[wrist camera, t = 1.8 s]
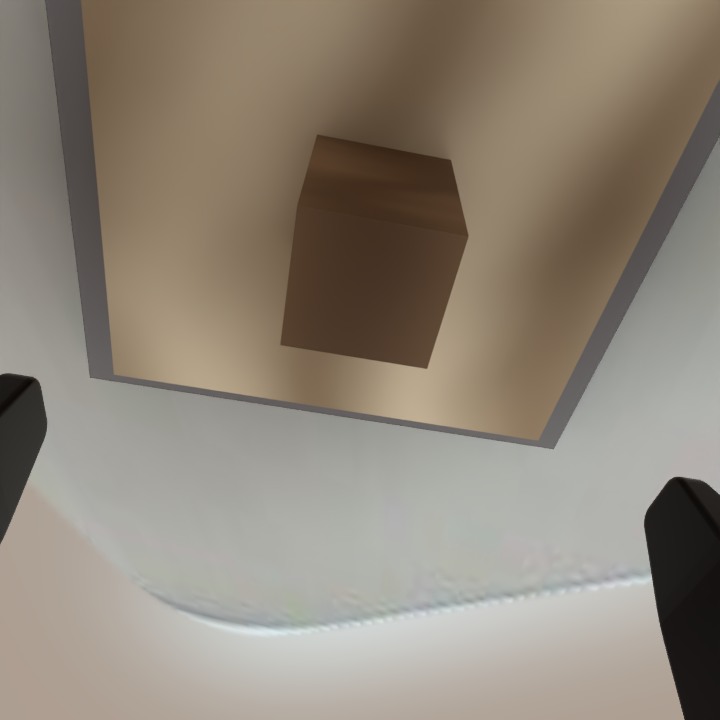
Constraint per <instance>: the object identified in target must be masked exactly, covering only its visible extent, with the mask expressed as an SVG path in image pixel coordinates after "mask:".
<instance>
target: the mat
mask: <svg viewBox="0 0 720 720" xmlns="http://www.w3.org/2000/svg"><path fill="white" fill-rule="evenodd" d="M45 2H46V11H47V19H48V28H49V36H50V44H51V53H52V61H53V70H54V78H55V87H56V95H57V103H58V112H59V120H60V129H61V137H62V145H63V154H64V162H65V171H66V179H67V188H68V196H69V204H70V213H71V221H72V230H73V238H74V246H75V255H76V263H77V272H78V280H79V288H80V297H81V305H82V314H83V322H84V331H85V339H86V347H87V356H88V364H89V373H90V378H96V379H102V380H109V381H115V382H122V383H128V384H135V385H141V386H148V387H154V388H161V389H167V390H174V391H180V392H187V393H193V394H200V395H206V396H212V397H219V398H225V399H232V400H238V401H245V402H251V403H258V404H264V405H271V406H277V407H284V408H290V409H297V410H303V411H310V412H316V413H322V414H329V415H335V416H342V417H348V418H355V419H361V420H368V421H374V422H381V423H387V424H394V425H400V426H407V427H413V428H420V429H426V430H433V431H439V432H445V433H452V434H458V435H465V436H471V437H478V438H484V439H491V440H497V441H504V442H510V443H517V444H523V445H530V446H536V447H543V448H549V449H554V448H555V446H556V444H557V442H558V440H559V438H560V436H561V434H562V433H563V431H564V429H565V427H566V425H567V423H568V421H569V419H570V417H571V416H572V414H573V412H574V410H575V408H576V406H577V404H578V402H579V400H580V399H581V397H582V395H583V393H584V391H585V389H586V387H587V385H588V383H589V382H590V380H591V378H592V376H593V374H594V372H595V370H596V368H597V366H598V365H599V363H600V361H601V359H602V357H603V355H604V353H605V351H606V349H607V348H608V346H609V344H610V342H611V340H612V338H613V336H614V334H615V332H616V331H617V329H618V327H619V325H620V323H621V321H622V319H623V317H624V315H625V314H626V312H627V310H628V308H629V306H630V304H631V302H632V300H633V298H634V297H635V295H636V293H637V291H638V289H639V287H640V285H641V283H642V281H643V280H644V278H645V276H646V274H647V272H648V270H649V268H650V266H651V264H652V263H653V261H654V259H655V257H656V255H657V253H658V251H659V249H660V247H661V246H662V244H663V242H664V240H665V238H666V236H667V234H668V232H669V230H670V229H671V227H672V225H673V223H674V221H675V219H676V217H677V215H678V213H679V212H680V210H681V208H682V206H683V204H684V202H685V200H686V198H687V196H688V195H689V193H690V191H691V189H692V187H693V185H694V183H695V181H696V179H697V178H698V176H699V174H700V172H701V170H702V168H703V166H704V164H705V162H706V161H707V159H708V157H709V155H710V153H711V151H712V149H713V147H714V145H715V144H716V142H717V140H718V138H719V136H720V79H719V81H718V83H717V85H716V87H715V89H714V91H713V93H712V95H711V97H710V99H709V101H708V103H707V105H706V107H705V109H704V111H703V113H702V115H701V117H700V119H699V121H698V123H697V125H696V127H695V129H694V131H693V133H692V135H691V137H690V139H689V141H688V143H687V145H686V147H685V149H684V151H683V153H682V155H681V157H680V159H679V161H678V163H677V165H676V167H675V169H674V171H673V173H672V175H671V177H670V179H669V181H668V183H667V185H666V187H665V189H664V191H663V193H662V195H661V197H660V199H659V201H658V203H657V205H656V207H655V209H654V211H653V213H652V215H651V217H650V219H649V221H648V223H647V225H646V227H645V229H644V231H643V233H642V235H641V237H640V239H639V241H638V243H637V245H636V247H635V249H634V251H633V253H632V255H631V257H630V259H629V261H628V263H627V265H626V267H625V269H624V271H623V273H622V275H621V277H620V279H619V281H618V283H617V285H616V287H615V289H614V291H613V293H612V295H611V297H610V299H609V301H608V303H607V305H606V307H605V309H604V311H603V313H602V315H601V317H600V319H599V321H598V323H597V325H596V327H595V329H594V331H593V332H592V334H591V336H590V338H589V340H588V342H587V344H586V346H585V348H584V350H583V352H582V354H581V356H580V358H579V360H578V362H577V364H576V366H575V368H574V370H573V372H572V374H571V376H570V378H569V380H568V382H567V384H566V386H565V388H564V390H563V392H562V394H561V396H560V398H559V400H558V402H557V404H556V406H555V408H554V410H553V412H552V414H551V416H550V418H549V420H548V422H547V424H546V426H545V428H544V430H543V432H542V434H541V436H540V438H539V440H531V439H525V438H518V437H512V436H505V435H499V434H493V433H486V432H480V431H473V430H467V429H460V428H454V427H447V426H441V425H435V424H428V423H422V422H415V421H409V420H402V419H396V418H390V417H383V416H377V415H370V414H364V413H357V412H351V411H344V410H338V409H332V408H325V407H319V406H312V405H306V404H299V403H293V402H287V401H280V400H274V399H267V398H261V397H254V396H248V395H241V394H235V393H229V392H222V391H216V390H209V389H203V388H196V387H190V386H184V385H177V384H171V383H164V382H158V381H151V380H145V379H138V378H132V377H126V376H119V375H114V370H113V359H112V348H111V336H110V325H109V313H108V302H107V291H106V279H105V268H104V256H103V245H102V234H101V222H100V211H99V199H98V188H97V177H96V165H95V154H94V142H93V131H92V120H91V108H90V97H89V85H88V74H87V63H86V51H85V40H84V28H83V17H82V6H81V0H45Z"/></svg>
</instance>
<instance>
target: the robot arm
mask: <svg viewBox="0 0 720 720" xmlns="http://www.w3.org/2000/svg"><path fill="white" fill-rule="evenodd" d="M46 431H47V417H46V412H45V407H44V401H43V396H42V391H41V386H40V383H39V381H38V380H37V379H36V378H34V377H30V376H24V375H17V374H10V373H6V374H2V375H0V543H1V542H2V540H3V538H4V535H5V533H6V531H7V529H8V526H9V524H10V522H11V519H12V517H13V515H14V512H15V510H16V507H17V505H18V502H19V500H20V498H21V495H22V493H23V490H24V488H25V485H26V483H27V480H28V478H29V475H30V473H31V470H32V468H33V466H34V463H35V461H36V458H37V456H38V453H39V451H40V448H41V446H42V443H43V441H44V438H45V435H46ZM644 528H645V535H646V541H647V548H648V554H649V561H650V567H651V574H652V580H653V587H654V593H655V599H656V606H657V611H658V617H659V622H660V627H661V631H662V635H663V640H664V644H665V647H666V651H667V655H668V659H669V662H670V666H671V670H672V674H673V677H674V681H675V685H676V689H677V693H678V697H679V700H680V704H681V708H682V712H683V715H684V719H685V720H720V495H719V494H718V493H717V492H716V491H715V490H714V489H712V488H711V487H710V486H709V485H708V484H707V483H705V482H703V481H701V480H697V479H691V478H684V477H674V478H672V479H670V480H669V481H668V482H667V484H666V485H665V486H664V488H663V489H662V490H661V492H660V493H659V495H658V496H657V497H656V499H655V500H654V501H653V503H652V504H651V505H650V507H649V508H648V510H647V512H646V515H645V519H644Z"/></svg>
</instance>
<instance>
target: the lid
mask: <svg viewBox="0 0 720 720" xmlns="http://www.w3.org/2000/svg"><path fill="white" fill-rule="evenodd" d="M81 6H82V17H83V28H84V40H85V51H86V63H87V74H88V85H89V97H90V108H91V120H92V131H93V142H94V154H95V165H96V177H97V188H98V199H99V211H100V222H101V234H102V245H103V256H104V268H105V279H106V291H107V302H108V313H109V325H110V336H111V348H112V359H113V370H114V375H119V376H126V377H132V378H138V379H145V380H151V381H158V382H164V383H171V384H177V385H184V386H190V387H196V388H203V389H209V390H216V391H222V392H229V393H235V394H241V395H248V396H254V397H261V398H267V399H274V400H280V401H287V402H293V403H299V404H306V405H312V406H319V407H325V408H332V409H338V410H344V411H351V412H357V413H364V414H370V415H377V416H383V417H390V418H396V419H402V420H409V421H415V422H422V423H428V424H435V425H441V426H447V427H454V428H460V429H467V430H473V431H480V432H486V433H493V434H499V435H505V436H512V437H518V438H525V439H531V440H539V438H540V436H541V434H542V432H543V430H544V428H545V426H546V424H547V422H548V420H549V418H550V416H551V414H552V412H553V410H554V408H555V406H556V404H557V402H558V400H559V398H560V396H561V394H562V392H563V390H564V388H565V386H566V384H567V382H568V380H569V378H570V376H571V374H572V372H573V370H574V368H575V366H576V364H577V362H578V360H579V358H580V356H581V354H582V352H583V350H584V348H585V346H586V344H587V342H588V340H589V338H590V336H591V334H592V332H593V331H594V329H595V327H596V325H597V323H598V321H599V319H600V317H601V315H602V313H603V311H604V309H605V307H606V305H607V303H608V301H609V299H610V297H611V295H612V293H613V291H614V289H615V287H616V285H617V283H618V281H619V279H620V277H621V275H622V273H623V271H624V269H625V267H626V265H627V263H628V261H629V259H630V257H631V255H632V253H633V251H634V249H635V247H636V245H637V243H638V241H639V239H640V237H641V235H642V233H643V231H644V229H645V227H646V225H647V223H648V221H649V219H650V217H651V215H652V213H653V211H654V209H655V207H656V205H657V203H658V201H659V199H660V197H661V195H662V193H663V191H664V189H665V187H666V185H667V183H668V181H669V179H670V177H671V175H672V173H673V171H674V169H675V167H676V165H677V163H678V161H679V159H680V157H681V155H682V153H683V151H684V149H685V147H686V145H687V143H688V141H689V139H690V137H691V135H692V133H693V131H694V129H695V127H696V125H697V123H698V121H699V119H700V117H701V115H702V113H703V111H704V109H705V107H706V105H707V103H708V101H709V99H710V97H711V95H712V93H713V91H714V89H715V87H716V85H717V83H718V81H719V79H720V0H81Z"/></svg>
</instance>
